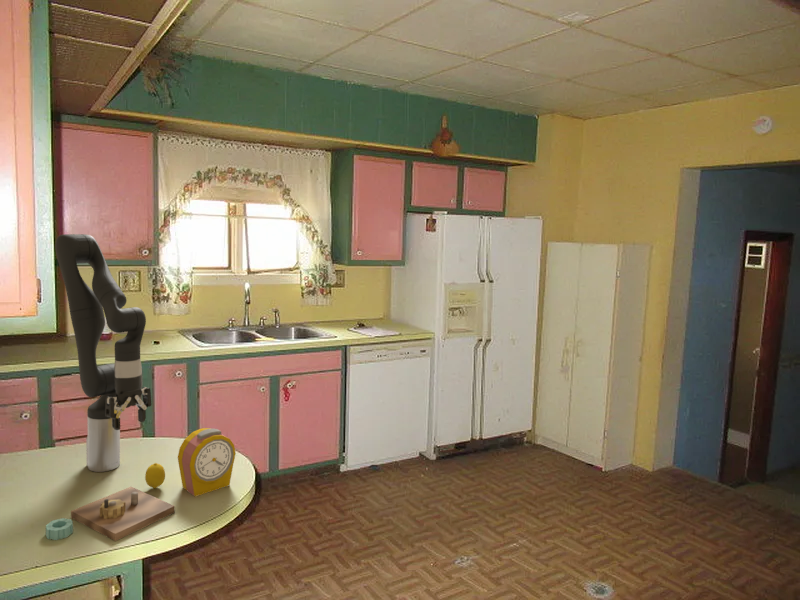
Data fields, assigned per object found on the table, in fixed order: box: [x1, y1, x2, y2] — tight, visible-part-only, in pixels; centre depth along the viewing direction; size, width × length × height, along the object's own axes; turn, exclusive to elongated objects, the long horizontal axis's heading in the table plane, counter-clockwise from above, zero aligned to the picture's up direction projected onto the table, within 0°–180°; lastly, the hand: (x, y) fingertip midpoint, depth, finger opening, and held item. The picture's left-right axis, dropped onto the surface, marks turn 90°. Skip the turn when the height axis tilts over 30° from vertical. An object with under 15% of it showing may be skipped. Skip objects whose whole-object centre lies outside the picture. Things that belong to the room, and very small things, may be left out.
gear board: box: [70, 486, 176, 542], centre depth 161 cm, size 19×18×6 cm
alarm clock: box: [177, 427, 236, 497], centre depth 180 cm, size 15×8×18 cm, turn 137°
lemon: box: [144, 462, 166, 489], centre depth 177 cm, size 6×6×8 cm
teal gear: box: [45, 517, 74, 541], centre depth 151 cm, size 6×6×2 cm
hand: (129, 425), depth 180 cm, fingers open, 8 cm apart
